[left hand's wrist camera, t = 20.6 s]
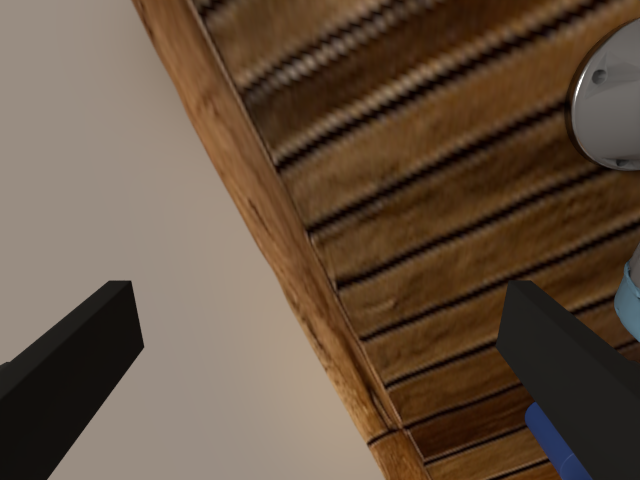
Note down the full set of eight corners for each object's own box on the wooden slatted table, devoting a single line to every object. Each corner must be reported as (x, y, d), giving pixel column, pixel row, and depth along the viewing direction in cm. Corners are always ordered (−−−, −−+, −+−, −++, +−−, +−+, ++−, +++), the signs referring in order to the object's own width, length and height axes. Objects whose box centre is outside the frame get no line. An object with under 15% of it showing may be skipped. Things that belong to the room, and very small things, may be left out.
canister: (549, 438, 56) (588, 494, 48) (514, 420, 54) (548, 475, 46) (582, 407, 54) (629, 461, 46) (546, 388, 52) (587, 439, 44)
